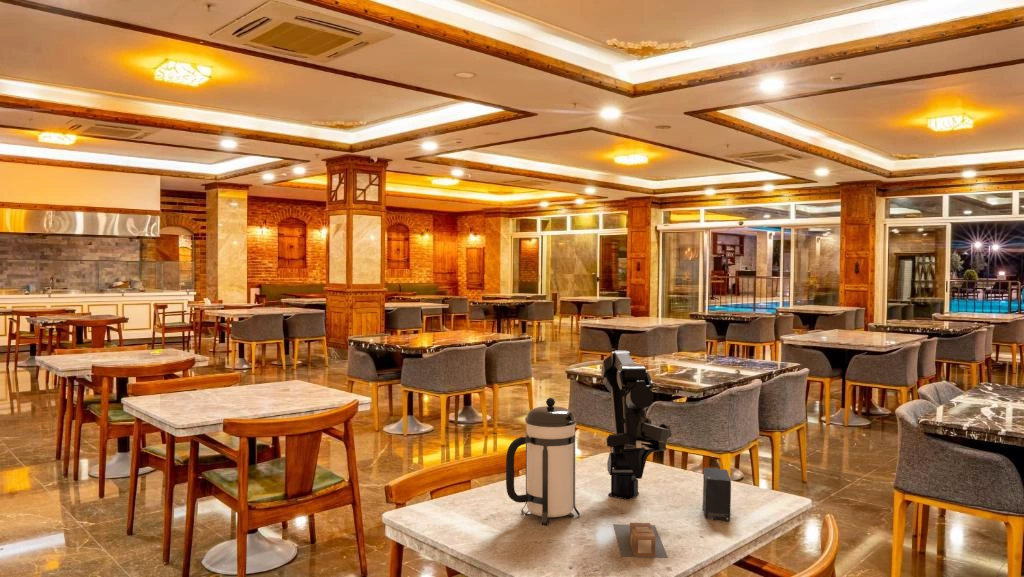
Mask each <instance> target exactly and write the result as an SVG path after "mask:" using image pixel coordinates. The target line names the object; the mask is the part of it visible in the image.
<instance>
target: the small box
mask: <svg viewBox="0 0 1024 577" xmlns="http://www.w3.org/2000/svg"><path fill="white" fill-rule="evenodd" d="M702 472H703V479H702V480H703V483H702V484H703V485H702V486H703V487H702V488H703V489H702V506H701V507H702V511H703V516H704V519H709V520H710V519H711V520H713V521H719V522H731V509H732V508H731V506H732V504H731V503H732V501H731V500H732V499H731V498H732V496H731V495H732V494H731V492H732V481H731V480H732V479H731V478H730V475H729V471H728V469H722V468H721V469H720V468H710V467H703V469H702Z"/></svg>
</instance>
